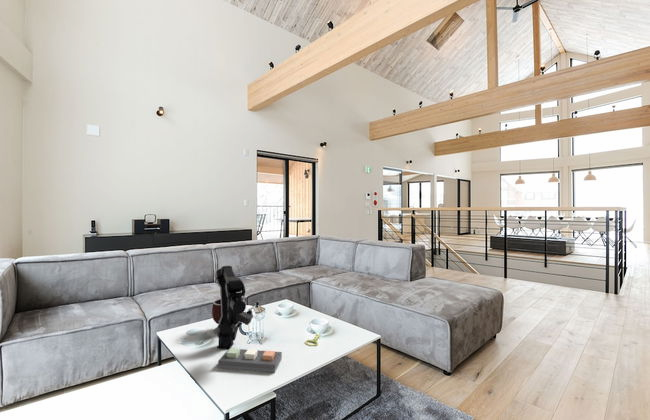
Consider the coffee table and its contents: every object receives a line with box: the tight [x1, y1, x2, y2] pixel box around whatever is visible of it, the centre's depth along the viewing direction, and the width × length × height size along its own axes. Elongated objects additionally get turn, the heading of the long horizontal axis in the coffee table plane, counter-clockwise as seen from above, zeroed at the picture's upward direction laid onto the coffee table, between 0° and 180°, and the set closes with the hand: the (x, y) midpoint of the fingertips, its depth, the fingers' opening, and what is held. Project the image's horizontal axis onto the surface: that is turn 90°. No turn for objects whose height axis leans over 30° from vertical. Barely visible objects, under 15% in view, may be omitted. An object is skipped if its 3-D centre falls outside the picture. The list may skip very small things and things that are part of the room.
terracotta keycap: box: [263, 350, 276, 361], centre depth 142 cm, size 5×5×2 cm
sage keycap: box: [226, 347, 241, 358], centre depth 144 cm, size 5×5×2 cm
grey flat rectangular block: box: [217, 348, 283, 374], centre depth 143 cm, size 26×12×4 cm, turn 84°
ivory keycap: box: [244, 348, 259, 359], centre depth 143 cm, size 5×5×2 cm
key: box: [304, 333, 321, 347], centre depth 168 cm, size 7×12×2 cm, turn 172°
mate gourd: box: [211, 298, 221, 335], centre depth 181 cm, size 16×14×20 cm
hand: (233, 340), depth 144 cm, fingers closed
